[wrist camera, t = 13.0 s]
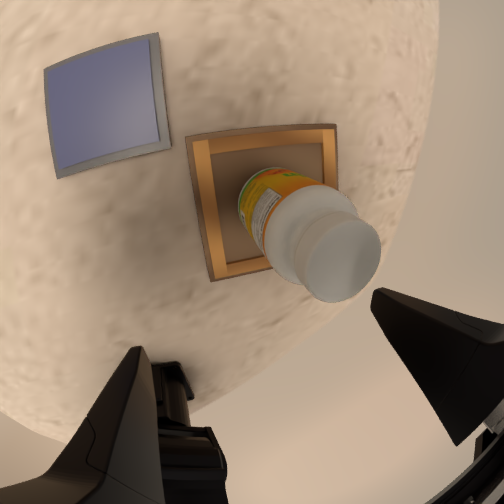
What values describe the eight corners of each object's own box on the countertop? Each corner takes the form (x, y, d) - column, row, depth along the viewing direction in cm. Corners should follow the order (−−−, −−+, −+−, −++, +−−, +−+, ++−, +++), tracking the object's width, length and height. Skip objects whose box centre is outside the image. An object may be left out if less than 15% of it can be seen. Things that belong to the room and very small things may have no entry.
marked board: (334, 251, 23) (338, 255, 23) (210, 279, 21) (211, 284, 21) (333, 123, 18) (338, 124, 18) (185, 136, 16) (185, 137, 16)
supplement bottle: (317, 183, 20) (409, 229, 11) (287, 245, 21) (355, 322, 13) (255, 154, 18) (330, 181, 9) (224, 224, 19) (267, 305, 11)
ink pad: (171, 146, 16) (170, 148, 15) (64, 175, 15) (53, 181, 13) (159, 38, 13) (157, 29, 11) (51, 72, 11) (40, 67, 10)
